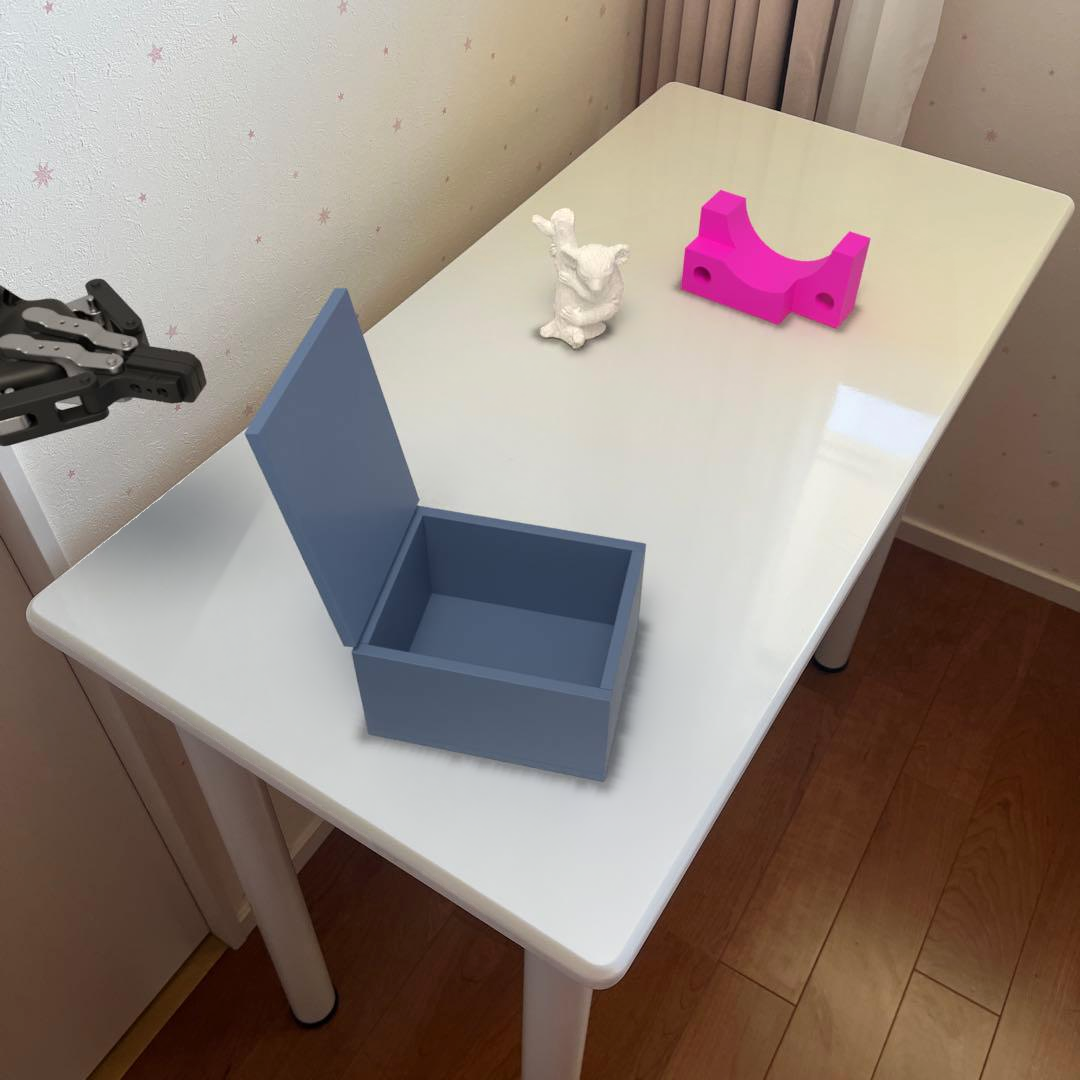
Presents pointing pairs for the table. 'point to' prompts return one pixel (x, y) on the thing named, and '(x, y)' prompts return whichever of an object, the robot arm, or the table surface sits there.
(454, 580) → the blue box
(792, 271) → the magenta pillow block
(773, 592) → the table surface
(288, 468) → the box lid
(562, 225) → the koala figurine
